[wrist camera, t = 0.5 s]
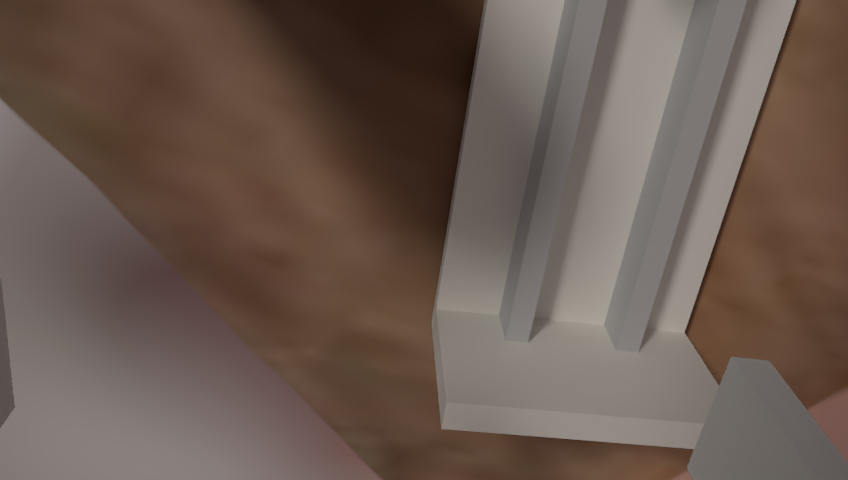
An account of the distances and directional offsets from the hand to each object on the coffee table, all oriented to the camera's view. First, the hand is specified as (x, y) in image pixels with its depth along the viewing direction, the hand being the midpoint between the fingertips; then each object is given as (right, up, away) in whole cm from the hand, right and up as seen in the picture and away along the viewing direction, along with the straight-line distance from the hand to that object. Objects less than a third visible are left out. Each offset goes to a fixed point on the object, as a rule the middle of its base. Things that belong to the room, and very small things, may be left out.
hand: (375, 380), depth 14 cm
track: (+10, +7, +24) cm, 27 cm away
